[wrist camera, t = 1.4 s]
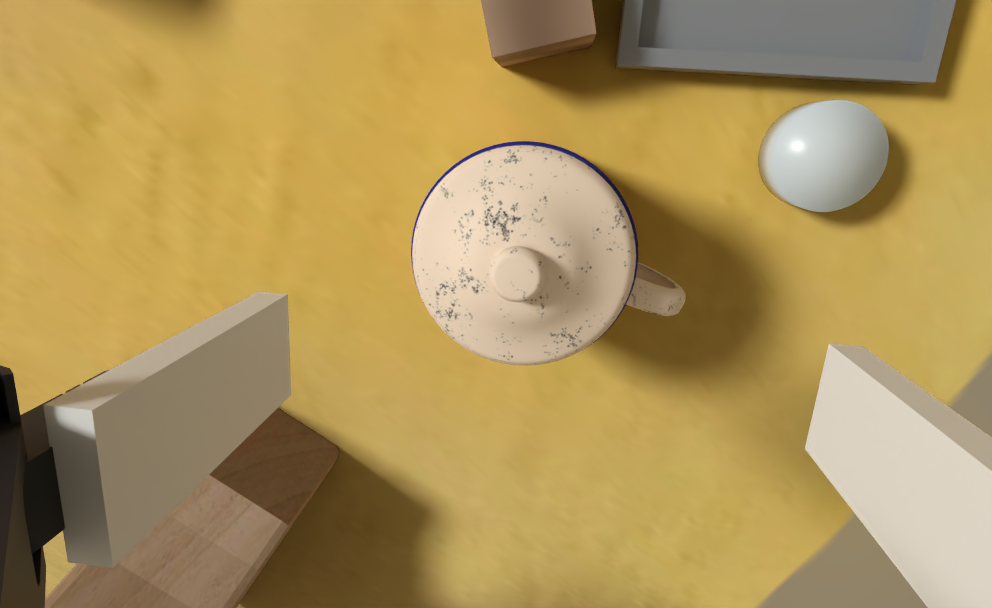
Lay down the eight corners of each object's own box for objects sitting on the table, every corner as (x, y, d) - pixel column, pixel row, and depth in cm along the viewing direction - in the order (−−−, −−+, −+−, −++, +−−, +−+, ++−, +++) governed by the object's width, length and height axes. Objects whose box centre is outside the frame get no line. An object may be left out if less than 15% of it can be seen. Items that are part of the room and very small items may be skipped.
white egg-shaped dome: (874, 105, 29) (901, 103, 27) (850, 209, 31) (874, 216, 28) (767, 99, 30) (784, 96, 27) (748, 201, 31) (763, 207, 29)
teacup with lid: (427, 273, 34) (360, 345, 23) (480, 112, 31) (434, 103, 20) (629, 349, 34) (662, 458, 23) (700, 194, 31) (777, 230, 20)
